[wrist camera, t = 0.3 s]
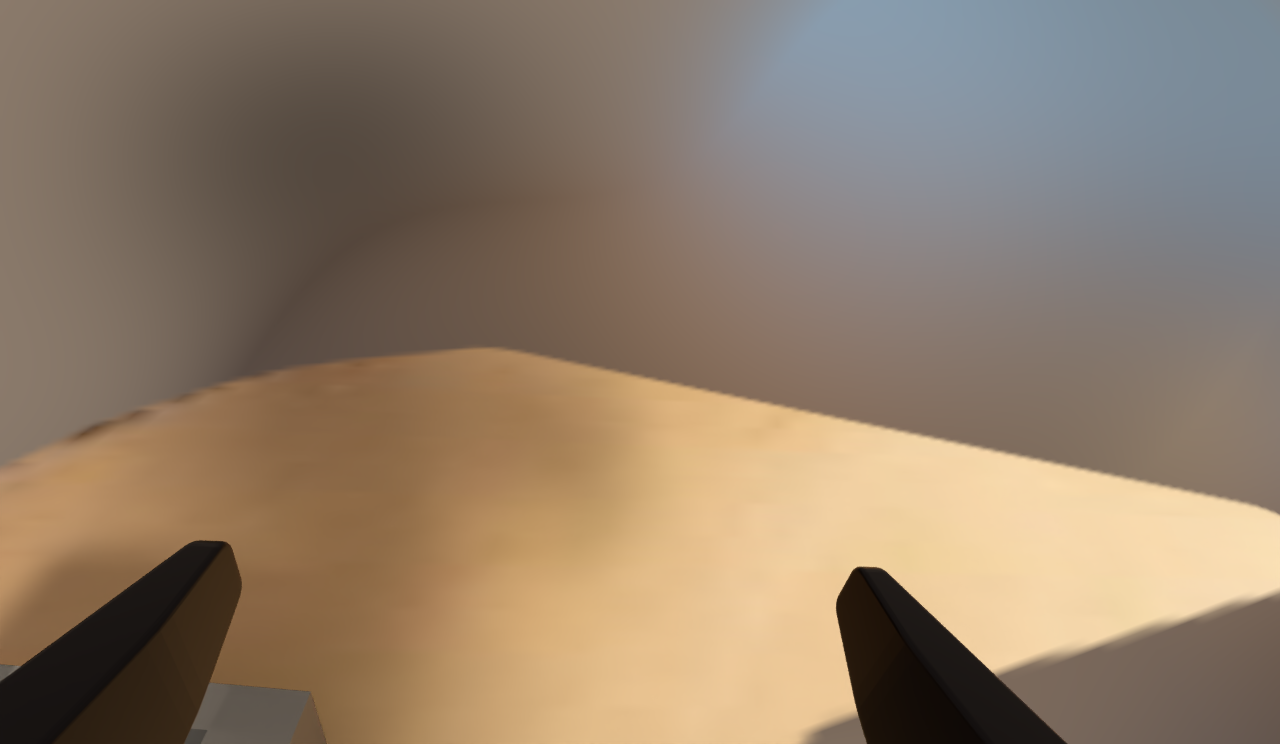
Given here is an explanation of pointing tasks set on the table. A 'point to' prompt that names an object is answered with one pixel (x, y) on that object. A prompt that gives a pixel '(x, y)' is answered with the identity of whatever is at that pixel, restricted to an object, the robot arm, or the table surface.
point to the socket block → (249, 715)
